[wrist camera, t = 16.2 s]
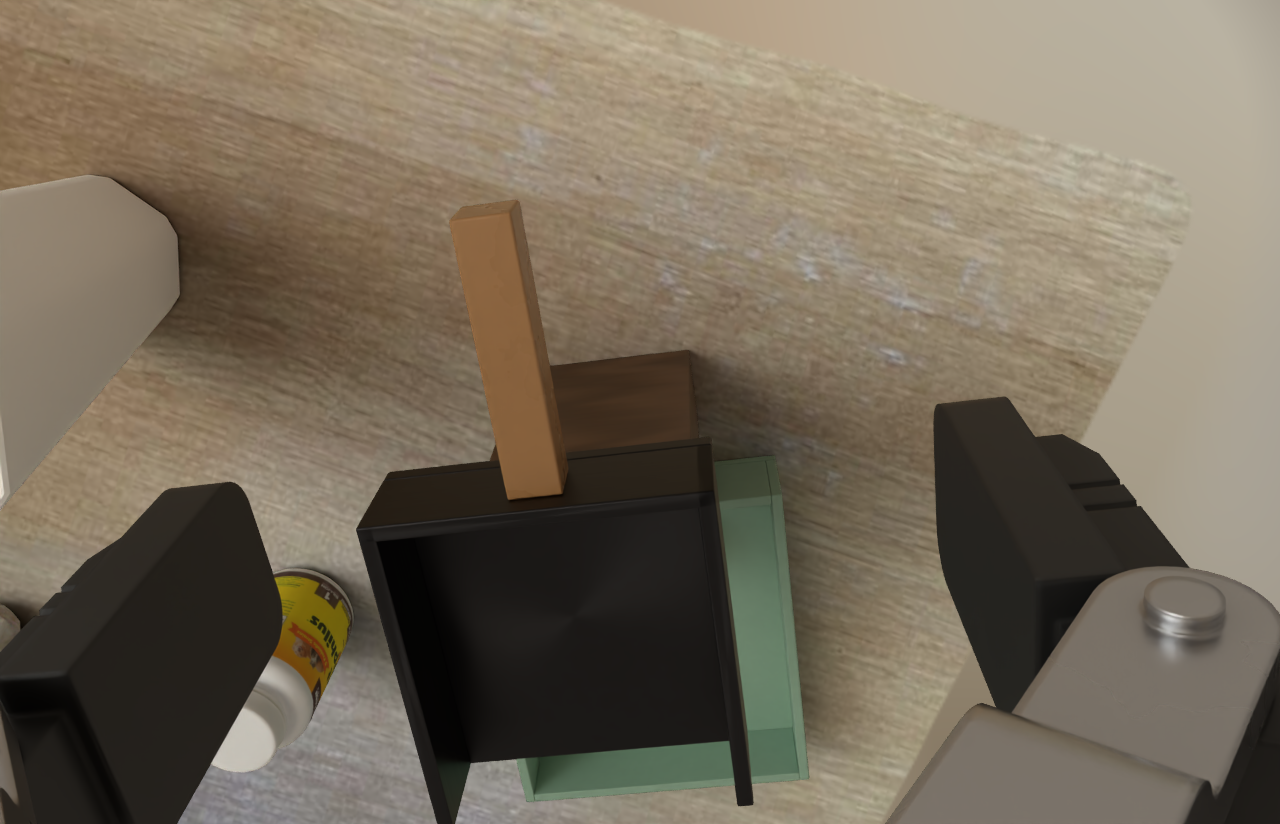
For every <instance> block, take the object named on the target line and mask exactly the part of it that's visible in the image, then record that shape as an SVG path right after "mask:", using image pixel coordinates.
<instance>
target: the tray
mask: <svg viewBox="0 0 1280 824" xmlns="http://www.w3.org/2000/svg"><path fill="white" fill-rule="evenodd" d="M714 463H715V471H716V479H717V488H718V496H719V504H720V512H721V520H722V528H723V536H724V544H725V552H726V560H727V568H728V576H729V585H730V593H731V601H732V609H733V617H734V625H735V633H736V641H737V649H738V657H739V665H740V674H741V682H742V690H743V698H744V706H745V714H746V722H747V731H748V743H749V755H750V767H751V779H752V784H757V783H769V782H781V781H793V780H799V779H800V780H805V779H809V769H808V759H807V749H806V738H805V728H804V718H803V707H802V697H801V686H800V676H799V666H798V655H797V645H796V635H795V624H794V614H793V604H792V593H791V583H790V572H789V562H788V552H787V541H786V531H785V521H784V510H783V500H782V492H781V486H780V481H779V475H778V470H777V464H776V459H775V456H774V455H772V456H763V457H753V458H744V459H735V460H726V461H717V462H714ZM516 760H517V764H518V768H519V772H520V777H521V781H522V785H523V789H524V793H525V797H526V801H527V802H535V801H549V800H561V799H573V798H585V797H598V796H610V795H622V794H634V793H647V792H659V791H671V790H683V789H696V788H708V787H720V786H732V785H735V782H734V775H733V767H732V760H731V752H730V745H729V741H723V742H711V743H700V744H688V745H676V746H664V747H653V748H641V749H629V750H618V751H606V752H594V753H582V754H571V755H559V756H547V757H536V758H524V759H516Z"/></svg>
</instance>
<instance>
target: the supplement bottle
mask: <svg viewBox="0 0 1280 824" xmlns="http://www.w3.org/2000/svg"><path fill="white" fill-rule="evenodd" d="M273 575H274V578H275V581H276V584H277V587H278V590H279V593H280V597H281V602H282V613H283V621H282V631H281V636H280V640H279V643H278V645H277V648H276V650H275V651H274V653H273V655H272V657H271V658H270V660H269V662H268V664H267V666H266V667H265V669H264V671H263V673H262V674H261V676H260V678H259V680H258V681H257V683H256V685H255V687H254V688H253V690H252V692H251V694H250V696H249V697H248V699H247V701H246V703H245V704H244V706H243V708H242V710H241V711H240V713H239V715H238V717H237V718H236V720H235V722H234V724H233V726H232V727H231V729H230V731H229V733H228V734H227V736H226V738H225V740H224V741H223V743H222V745H221V747H220V749H219V750H218V752H217V754H216V756H215V757H214V759H213V761H212V763H211V765H213V766H215V767H217V768H220V769H223V770H226V771H231V772H250V771H254V770H257V769H260V768H262V767H263V766H265V765H266V764H267V763H269V762H270V761H271V759H272V758H273V757H274V755H275V753H276V751H277V749H280V748H283V747H285V746H287V745H289V744H291V743H292V742H294V741H295V740H296V739H297V738H298V737H300V736H301V734H302V733H303V732H304V731H305V729H306V728H307V726H308V724H309V722H310V720H311V719H312V716H313V713H314V711H315V709H316V707H317V705H318V703H319V701H320V698H321V696H322V694H323V692H324V690H325V688H326V686H327V684H328V682H329V680H330V677H331V675H332V673H333V671H334V669H335V667H336V665H337V663H338V660H339V658H340V656H341V654H342V652H343V650H344V648H345V645H346V643H347V641H348V639H349V636H350V634H351V631H352V628H353V621H354V617H353V609H352V606H351V603H350V601H349V599H348V597H347V595H346V594H345V592H344V591H343V590H342V589H341V588H340V587H339V586H338V585H337V584H336V583H335V582H334V581H332V580H331V579H330V578H328V577H327V576H325V575H323V574H320V573H318V572H315V571H312V570H308V569H300V568H291V569H284V570H280V571H277V572H274V573H273Z"/></svg>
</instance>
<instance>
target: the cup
mask: <svg viewBox="0 0 1280 824" xmlns="http://www.w3.org/2000/svg"><path fill="white" fill-rule="evenodd" d="M179 295H180V288H179V263H178V238H177V234H176V233H175V231H174V229H173V228H172V226H171V224H170V222H169V221H168V219H167V217H166V216H164V215H163V214H161V213H160V212H158V211H157V210H156V209H154V208H153V207H151V206H150V205H148V204H147V203H145V202H144V201H143V200H141V199H140V198H138V197H137V196H135V195H134V194H132V193H131V192H130V191H128V190H127V189H125V188H124V187H122V186H121V185H119V184H118V183H117V182H115V181H114V180H112V179H111V178H108V177H101V176H95V175H84V176H78V177H73V178H67V179H62V180H56V181H51V182H46V183H40V184H35V185H29V186H24V187H18V188H13V189H8V190H2V191H0V510H1V509H2V508H3V507H4V505H5V504H6V503H7V502H8V501H9V499H10V498H11V497H12V496H13V495H14V494H15V492H16V491H17V490H18V489H19V488H20V487H21V485H22V484H23V483H24V482H25V481H26V479H27V478H28V477H29V476H30V475H31V474H32V472H33V471H34V470H35V469H36V468H37V466H38V465H39V464H40V463H41V462H42V461H43V459H44V458H45V457H46V456H47V455H48V454H49V452H50V451H51V450H52V449H53V448H54V446H55V445H56V444H57V443H58V442H59V441H60V439H61V438H62V437H63V436H64V435H65V433H66V432H67V431H68V430H69V429H70V428H71V426H72V425H73V424H74V423H75V422H76V421H77V419H78V418H79V417H80V416H81V415H82V413H83V412H84V411H85V410H86V409H87V408H88V406H89V405H90V404H91V403H92V402H93V400H94V399H95V398H96V397H97V396H98V395H99V393H100V392H101V391H102V390H103V389H104V388H105V386H106V385H107V384H108V383H109V382H110V380H111V379H112V378H113V377H114V376H115V375H116V373H117V372H118V371H119V370H120V369H121V368H122V366H123V365H124V364H125V363H126V362H127V360H128V359H129V358H130V357H131V356H132V355H133V353H134V352H135V351H136V350H137V349H138V347H139V346H140V345H141V344H142V343H143V342H144V340H145V339H146V338H147V337H148V336H149V335H150V333H151V332H152V331H153V330H154V329H155V327H156V326H157V325H158V324H159V323H160V322H161V320H162V319H163V318H164V317H165V316H166V314H167V313H168V312H169V311H170V310H171V308H172V307H173V305H174V303H175V302H176V300H177V299H178V297H179Z"/></svg>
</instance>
